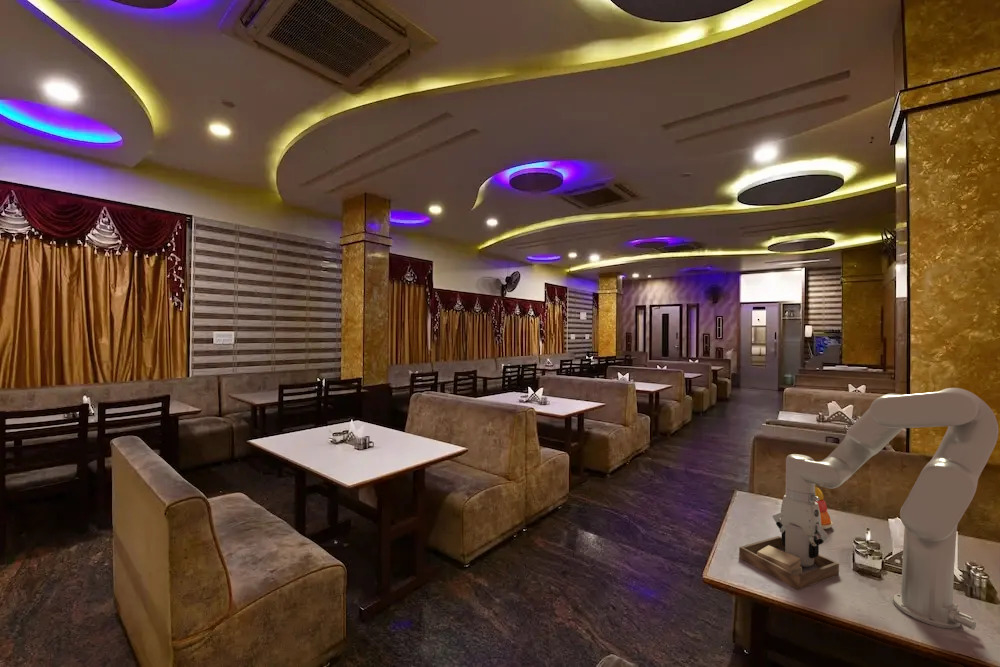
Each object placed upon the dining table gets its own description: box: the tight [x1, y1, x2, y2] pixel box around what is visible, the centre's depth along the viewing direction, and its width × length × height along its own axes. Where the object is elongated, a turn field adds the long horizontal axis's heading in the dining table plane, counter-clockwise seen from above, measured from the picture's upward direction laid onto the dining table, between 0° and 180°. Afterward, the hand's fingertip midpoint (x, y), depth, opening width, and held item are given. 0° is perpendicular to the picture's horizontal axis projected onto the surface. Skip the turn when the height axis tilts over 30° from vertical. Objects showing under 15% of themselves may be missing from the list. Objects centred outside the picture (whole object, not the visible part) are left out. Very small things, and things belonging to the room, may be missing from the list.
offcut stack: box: [757, 545, 803, 576], centre depth 130 cm, size 10×9×4 cm
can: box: [784, 523, 814, 568], centre depth 133 cm, size 8×8×12 cm
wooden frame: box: [738, 535, 840, 591], centre depth 132 cm, size 18×20×4 cm
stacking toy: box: [815, 484, 834, 530], centre depth 163 cm, size 14×14×20 cm
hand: (799, 550), depth 133 cm, fingers closed on can, 7 cm apart
